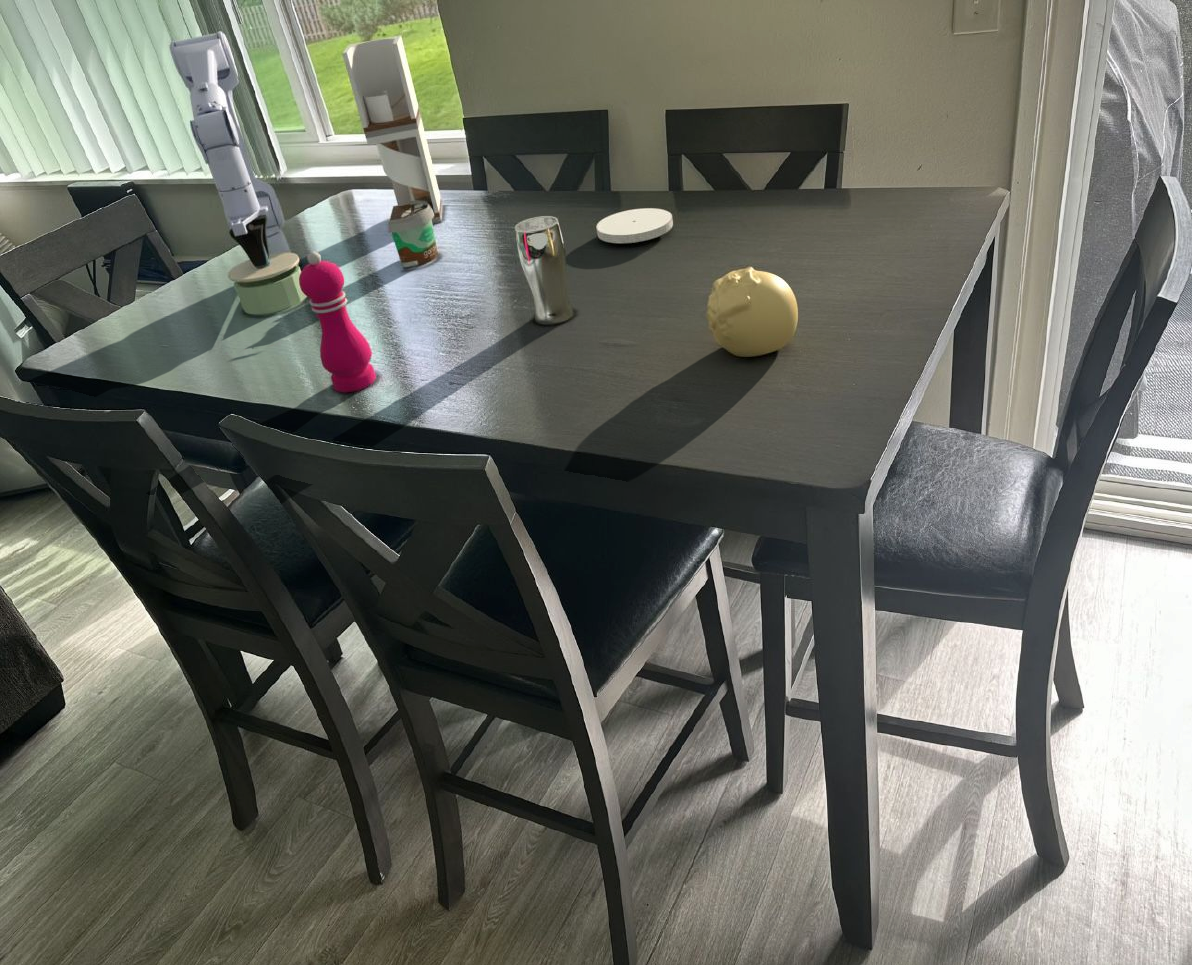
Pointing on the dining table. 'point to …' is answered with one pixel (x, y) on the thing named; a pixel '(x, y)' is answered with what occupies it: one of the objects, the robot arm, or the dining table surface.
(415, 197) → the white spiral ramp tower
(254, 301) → the tub
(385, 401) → the dining table surface
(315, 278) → the pepper mill
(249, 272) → the tub lid
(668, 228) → the plastic lid
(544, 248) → the beer glass
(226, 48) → the robot arm
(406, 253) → the food container
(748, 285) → the sculpture
